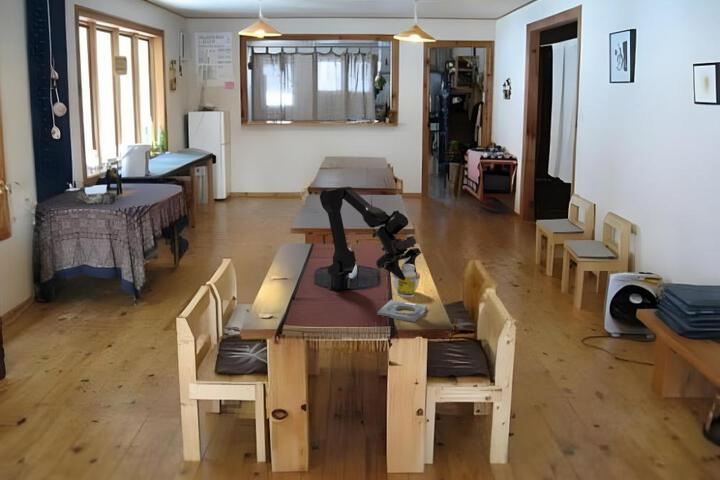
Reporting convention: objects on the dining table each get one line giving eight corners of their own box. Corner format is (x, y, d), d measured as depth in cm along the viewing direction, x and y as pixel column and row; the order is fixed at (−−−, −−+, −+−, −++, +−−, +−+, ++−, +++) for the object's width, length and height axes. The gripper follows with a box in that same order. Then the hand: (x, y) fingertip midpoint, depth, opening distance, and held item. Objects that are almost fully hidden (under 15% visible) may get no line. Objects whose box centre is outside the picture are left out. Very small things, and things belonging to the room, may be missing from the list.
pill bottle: (393, 293, 272) (395, 264, 270) (406, 291, 276) (408, 262, 273) (404, 298, 268) (407, 268, 265) (417, 296, 271) (420, 266, 269)
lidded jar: (410, 298, 290) (412, 274, 287) (386, 292, 295) (387, 269, 293) (423, 292, 299) (425, 269, 296) (399, 286, 304) (401, 263, 302)
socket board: (377, 315, 269) (377, 311, 268) (390, 302, 283) (391, 299, 283) (417, 322, 264) (417, 318, 264) (429, 309, 279) (429, 305, 278)
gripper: (384, 232, 262) (406, 271, 258) (419, 226, 275) (440, 262, 271) (366, 249, 269) (387, 287, 265) (401, 242, 283) (421, 278, 278)
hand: (410, 278), depth 269 cm, fingers closed on pill bottle, 6 cm apart
